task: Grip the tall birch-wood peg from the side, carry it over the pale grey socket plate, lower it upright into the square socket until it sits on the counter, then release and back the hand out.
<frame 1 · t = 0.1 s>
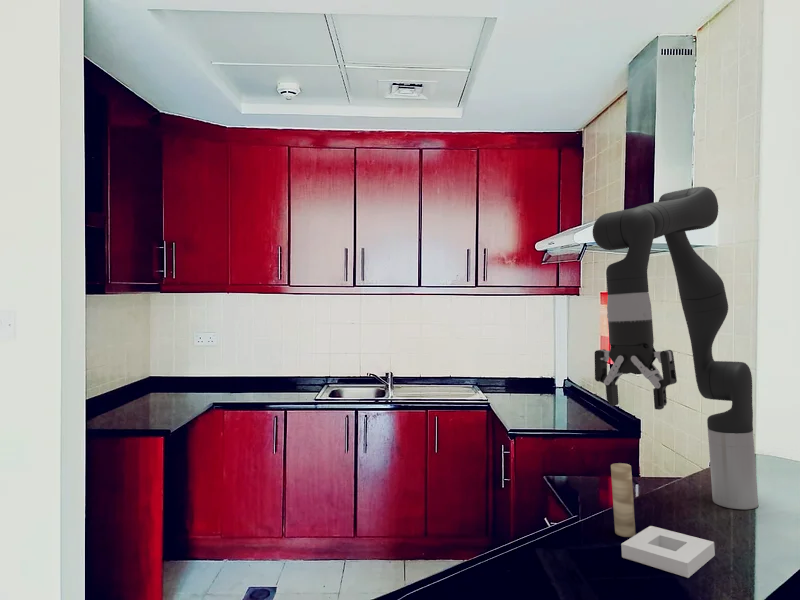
hand: (635, 406, 101), 29 cm above the countertop, tool pointing down, fingers open, 8 cm apart
socket plate: (668, 556, 104), on the countertop
peg: (625, 533, 115), on the countertop
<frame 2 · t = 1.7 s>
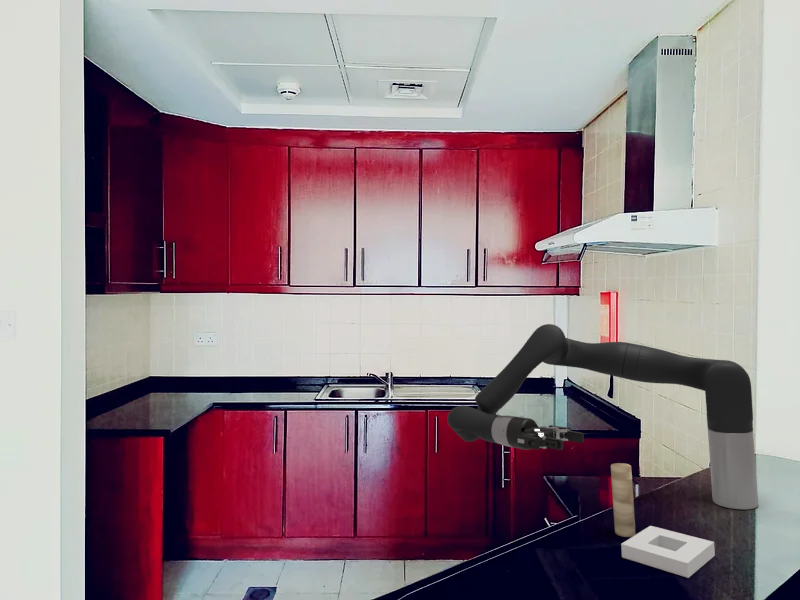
hand: (572, 441, 124), 18 cm above the countertop, tool horizontal, fingers open, 8 cm apart
nothing on the countertop moved.
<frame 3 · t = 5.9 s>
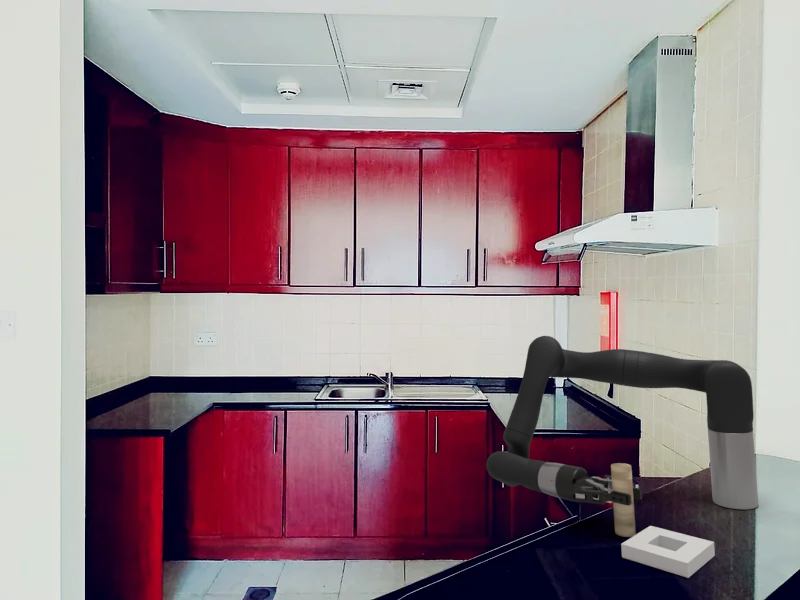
hand: (635, 497, 113), 8 cm above the countertop, tool horizontal, fingers closed on peg, 4 cm apart
peg: (625, 532, 115), on the countertop, touching gripper
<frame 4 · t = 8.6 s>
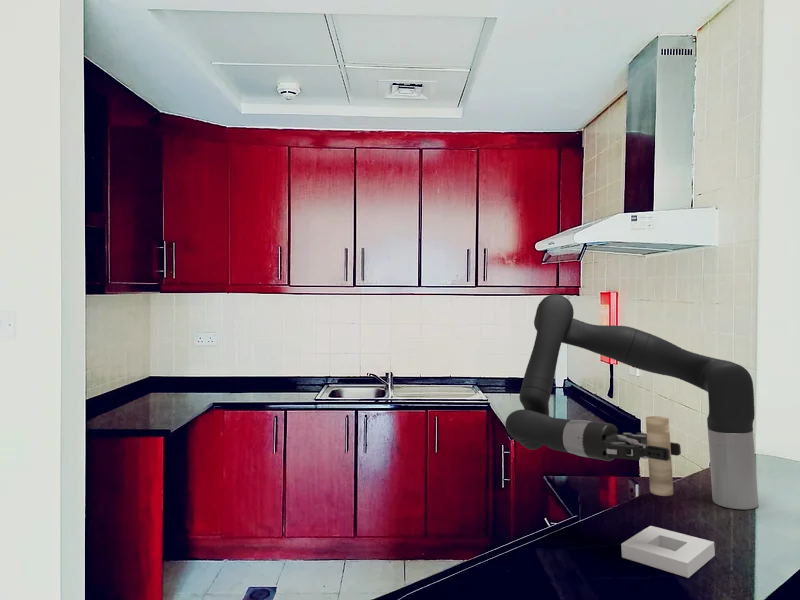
hand: (674, 452, 102), 20 cm above the countertop, tool horizontal, fingers closed on peg, 4 cm apart
peg: (661, 492, 104), point 12 cm above the countertop, touching gripper
when the fingers open (9 cm above the countertop, at t = 11.2 s): peg stays where it is, resting in socket plate.
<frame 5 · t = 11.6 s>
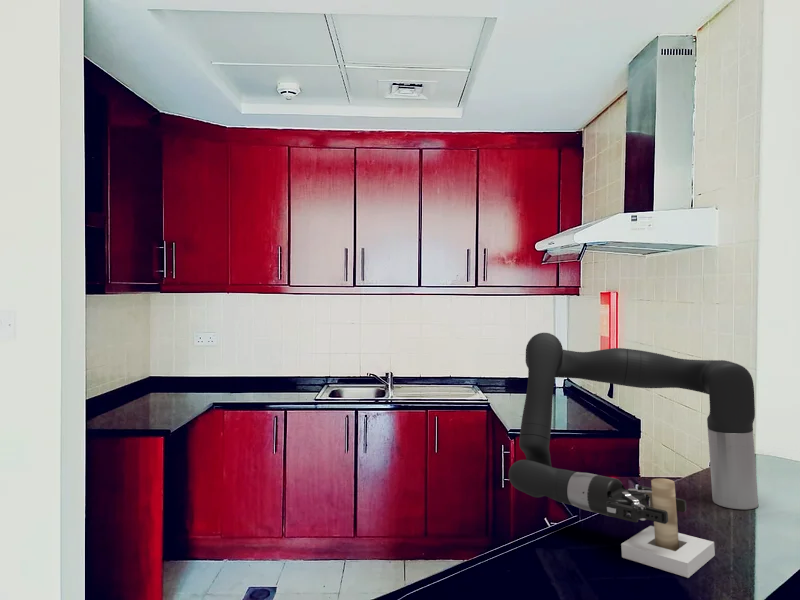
hand: (676, 511, 102), 9 cm above the countertop, tool horizontal, fingers open, 7 cm apart
peg: (667, 556, 104), resting in socket plate
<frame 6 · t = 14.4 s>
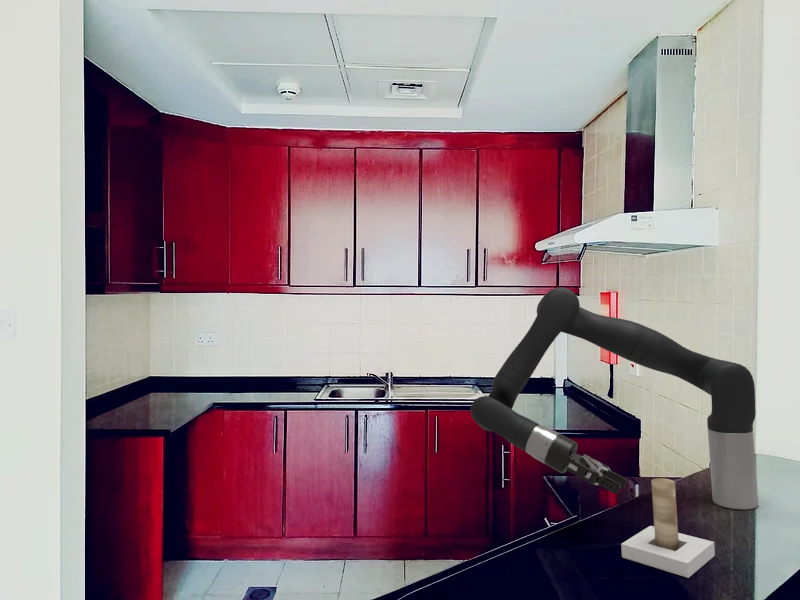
hand: (622, 487, 115), 10 cm above the countertop, tool tilted 65°, fingers open, 8 cm apart
nothing on the countertop moved.
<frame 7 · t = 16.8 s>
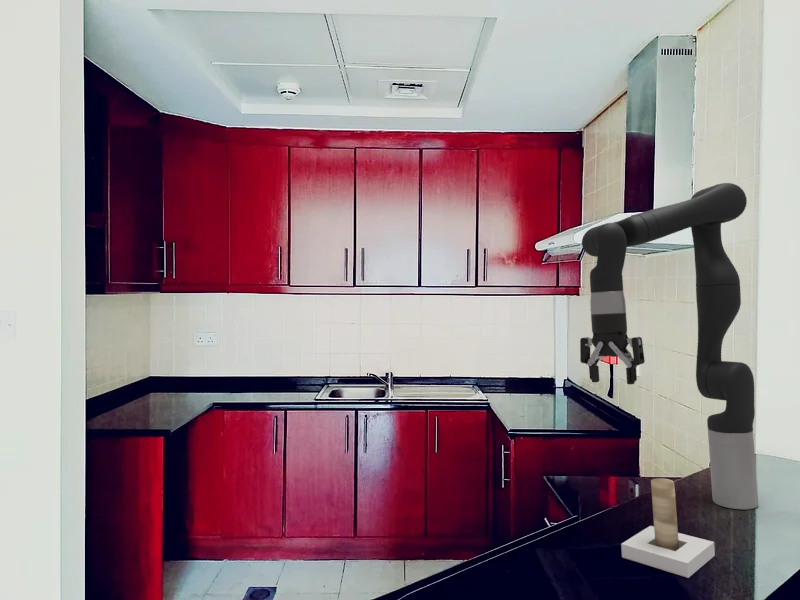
hand: (612, 383, 125), 30 cm above the countertop, tool pointing down, fingers open, 8 cm apart
nothing on the countertop moved.
at the end: peg 0.1 cm off-centre on the socket plate, point 0.0 cm above the socket plate's base; peg tilted 0°; the gripper is holding nothing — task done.
